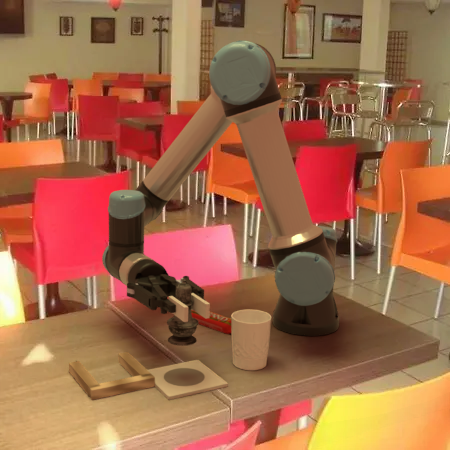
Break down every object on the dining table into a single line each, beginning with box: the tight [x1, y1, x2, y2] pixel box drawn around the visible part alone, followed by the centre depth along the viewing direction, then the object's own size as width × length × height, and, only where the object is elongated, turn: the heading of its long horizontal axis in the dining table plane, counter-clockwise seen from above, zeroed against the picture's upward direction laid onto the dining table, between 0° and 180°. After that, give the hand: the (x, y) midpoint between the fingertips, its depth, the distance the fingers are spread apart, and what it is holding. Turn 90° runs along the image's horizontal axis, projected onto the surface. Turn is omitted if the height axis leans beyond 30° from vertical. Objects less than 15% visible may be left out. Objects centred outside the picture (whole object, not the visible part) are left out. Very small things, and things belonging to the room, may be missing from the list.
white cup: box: [230, 308, 273, 371], centre depth 142 cm, size 8×8×10 cm
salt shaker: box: [166, 277, 200, 347], centre depth 132 cm, size 6×6×12 cm
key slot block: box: [68, 351, 155, 401], centre depth 134 cm, size 12×13×2 cm
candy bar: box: [191, 309, 231, 335], centre depth 163 cm, size 16×4×3 cm, turn 48°
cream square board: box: [147, 359, 229, 401], centre depth 135 cm, size 12×12×1 cm
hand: (196, 312), depth 127 cm, fingers closed on salt shaker, 4 cm apart
